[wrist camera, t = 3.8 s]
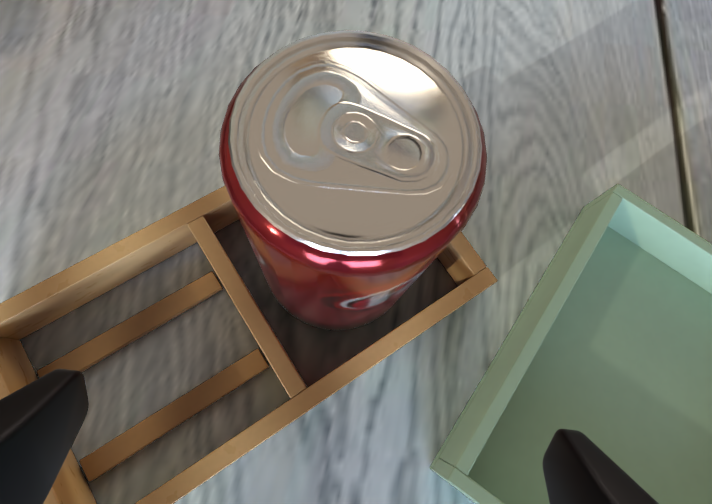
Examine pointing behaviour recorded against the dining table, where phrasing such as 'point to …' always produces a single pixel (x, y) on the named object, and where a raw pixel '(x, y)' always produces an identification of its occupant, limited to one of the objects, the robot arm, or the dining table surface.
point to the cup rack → (139, 253)
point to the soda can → (350, 171)
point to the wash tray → (600, 364)
